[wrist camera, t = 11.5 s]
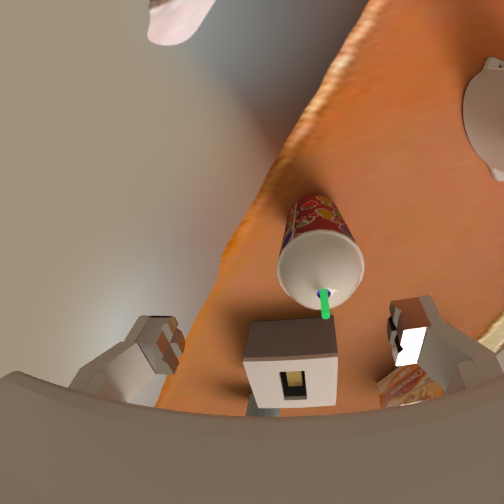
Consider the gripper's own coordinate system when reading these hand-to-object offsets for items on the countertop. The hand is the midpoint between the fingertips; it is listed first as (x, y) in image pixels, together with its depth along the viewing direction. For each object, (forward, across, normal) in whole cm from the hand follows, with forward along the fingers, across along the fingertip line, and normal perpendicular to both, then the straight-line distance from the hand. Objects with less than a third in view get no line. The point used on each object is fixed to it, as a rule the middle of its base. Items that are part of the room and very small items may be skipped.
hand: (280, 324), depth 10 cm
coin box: (+29, +3, +33) cm, 44 cm away
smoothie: (+29, -2, +8) cm, 30 cm away
